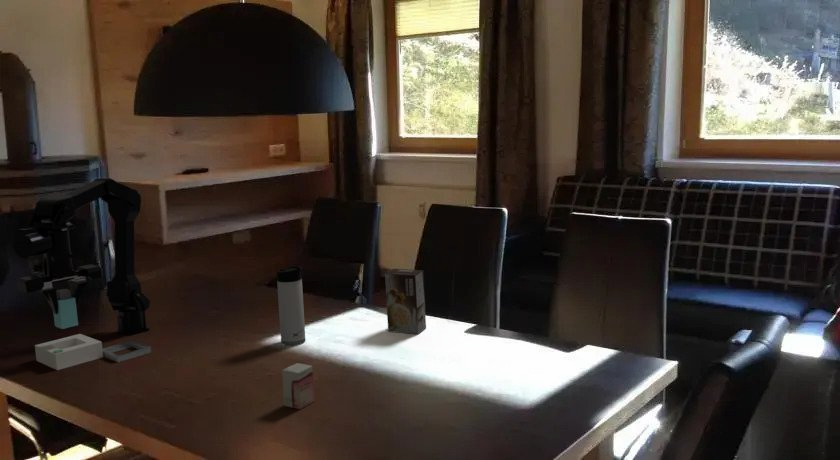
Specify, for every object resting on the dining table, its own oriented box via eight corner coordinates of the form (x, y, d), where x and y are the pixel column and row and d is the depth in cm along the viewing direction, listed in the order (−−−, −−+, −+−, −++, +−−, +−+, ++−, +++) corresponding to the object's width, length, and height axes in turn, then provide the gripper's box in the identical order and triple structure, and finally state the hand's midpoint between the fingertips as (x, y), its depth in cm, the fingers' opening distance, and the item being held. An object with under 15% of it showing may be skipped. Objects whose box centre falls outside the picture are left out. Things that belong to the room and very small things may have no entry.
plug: (70, 322, 195) (66, 287, 193) (78, 325, 192) (74, 289, 190) (54, 326, 192) (50, 290, 190) (62, 329, 189) (57, 293, 188)
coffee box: (427, 327, 210) (425, 270, 207) (418, 334, 204) (416, 275, 201) (396, 325, 213) (394, 268, 210) (386, 331, 207) (384, 273, 204)
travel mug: (301, 346, 197) (297, 269, 194) (277, 345, 199) (272, 269, 195) (310, 338, 203) (305, 264, 200) (286, 338, 205) (281, 264, 201)
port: (81, 348, 201) (80, 332, 201) (103, 357, 194) (101, 340, 193) (36, 360, 193) (34, 344, 192) (57, 370, 185) (55, 353, 185)
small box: (300, 410, 157) (297, 373, 156) (283, 406, 159) (281, 369, 158) (315, 401, 161) (313, 365, 160) (299, 397, 163) (297, 362, 162)
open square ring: (133, 345, 202) (132, 340, 202) (151, 352, 196) (150, 346, 196) (99, 355, 195) (99, 349, 195) (117, 362, 190) (117, 356, 189)
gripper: (79, 240, 201) (86, 298, 203) (3, 253, 187) (12, 315, 190) (100, 244, 193) (107, 305, 196) (23, 258, 180) (31, 323, 182)
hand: (64, 311), depth 191 cm, fingers closed on plug, 4 cm apart
